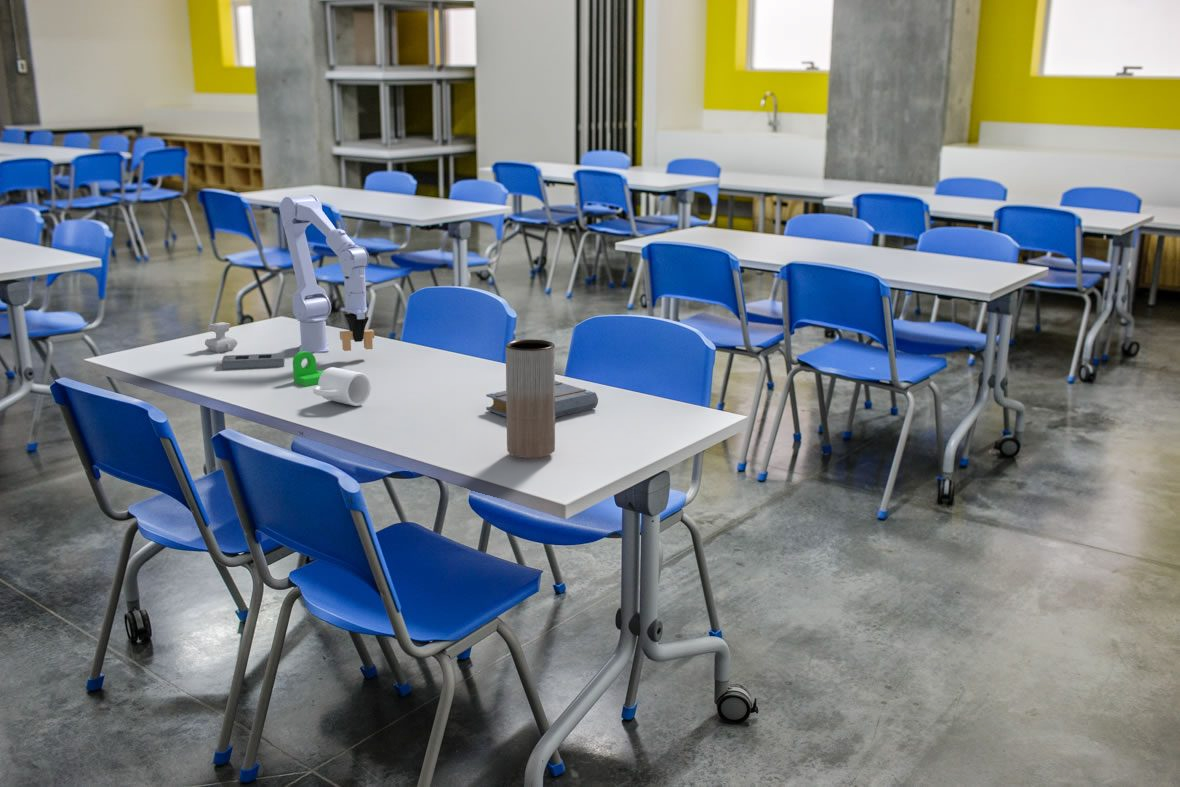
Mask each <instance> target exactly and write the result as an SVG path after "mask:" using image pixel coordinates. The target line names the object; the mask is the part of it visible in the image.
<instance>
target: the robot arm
mask: <svg viewBox="0 0 1180 787" xmlns="http://www.w3.org/2000/svg"><path fill="white" fill-rule="evenodd" d="M278 210H279V214H280V218H281V222H282V227H283V229H284V233H285V237H286V241H287V245H288V250H289V253H290V259H291V263H292V267H293V271H294V275H295V280H296V285H297V289H296V291H295V292H294V293H293V295H292V296H291V300H292V313H293V315H294V317H295V318H296V319H297V321H298V322H299V332H300V345H299V352H300V351H306V352H309V353H312V354H314V353H316V354H317V353H329V352H330V351H329V344H328V343H327V341H328V340H327V328H326V327H327V322H326V320H328V319H329V318H328V316H329V315H330V314H331V312H332V305H331V304H332V303H331V300H330V299H329V297H328V295H327V292H326V290H325V289H324V288H323V287H321V286H320V285H318V283H317V278H316V273H315V268H314V265H313V261H312V257H311V252H310V249H309V244H308V239H307V235H306V229H307V227H308V226H310V225H311V224H312V225H313V226H314V227H316V228H317V230H318V231H320V232H321V233H322V234H323V235H324V236H325V243H326V245H327V246H328V247H329V248H330V249H331V250H332V252H333V253H335V255H336V256H337V257H338V258H337V260H338V264H339V266H340V268H341V274H342V276H343V280H344V281H343V283H344V286H343V287H344V302H345V303H344V304H345V307H340V311H341V312H347V313H344V314H343V316H344V317H345V319H346V322H347V324H348V327H349V331H352V333H353V338H354V340H353V341H354V342H355V343H357V342H360V343H361V342H364V339H363V336H364V330H366V326H367V324H368V321H369V316H366V312H367V311H368V307H367V286H366V281H367V280H366V268H367V267H368V265H369V264H370V255H369V252H368V251H367V249H366V247H364V246H359V244H358V245H357V244H355V242H354V241H353V240H352V239H351V237H349V236H348V235H347V233H346V231H345V230H344V229H341V228H336V227H335V226H334V224H333V223H332V221H331V220H330V219H329V218H328V216H327V215H326V214H325V212H324V211H323V206H322V202H321V201H320V200H319V199H318V197H317V196H316V195H314V194H309V195H303V196H302V195H301V196H285V197H283V198H282V199H281V202H280V204H279V206H278Z"/></svg>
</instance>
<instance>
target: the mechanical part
mask: <svg viewBox="0 0 1180 787" xmlns="http://www.w3.org/2000/svg"><path fill="white" fill-rule="evenodd" d="M305 359H306V364H305V366H303V365H302V362H303V360H305ZM325 370H326V369H323V370H317V360H316V356H315V355H314V353H309V352H306V351H300V350H299V351H298V352H297V353H295V354H294V356H293V359H292V372H293V383H295V384H299V385H300V386H303V387H309V386H315V385H317V386H318V381H319V378H320V376H321V374H322V373H323V372H324V371H325Z"/></svg>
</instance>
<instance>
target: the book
mask: <svg viewBox="0 0 1180 787" xmlns="http://www.w3.org/2000/svg"><path fill="white" fill-rule="evenodd" d="M485 396H486V397H487V398H490V399H492V400H493V402H492V403H493V404H492V405H490V406H486V407H485V408H486V410H487V411H489V412H491V413H493V414H494V413H495V414H498V415H500V416H504V417H506V418H507V411H506V390H501V391H498V392H497V391H496V392H490V393H488V394H487V393H486V394H485ZM598 403H599V398H598V395H597V393H596V392H595V391H591V390H587V389H586V388H581V387H578V386H575V385H574V386H573V385H570V384H568V383H564V382H562V381H556V380H555V418H557V417H561V416H566V415H569V414H570V415H571V414H574V413H579V412H583V411H587V410H591V409H596V408H597V406H598Z"/></svg>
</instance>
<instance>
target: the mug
mask: <svg viewBox="0 0 1180 787" xmlns="http://www.w3.org/2000/svg"><path fill="white" fill-rule="evenodd" d="M324 370H325V371H324V372H323V373H322V374H321V376H320V378H319V381H318V384H317V386H316V387H314V388H313V390H312V391H313V392H312V393H313V394H315V395H316V396H319V397H322V398H323V399H325V400H328V401H333V402H336V403H341V404H345V405H348V406H353V407H355V406H356V407H358V406H359V407H360V406H361V405H363V404H365V403H366V402H367V401H368V399H369V396H370V394H371V389H372V388H371V387H372V385H371V381H370V378H369V377H368V376H367V375H366V374H365V373H363V372H359V371H358V372H357V371H353V370H349V369H345V368H339V367H334V366H333V367H332V366H330V367H328V368H326V369H324Z"/></svg>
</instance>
